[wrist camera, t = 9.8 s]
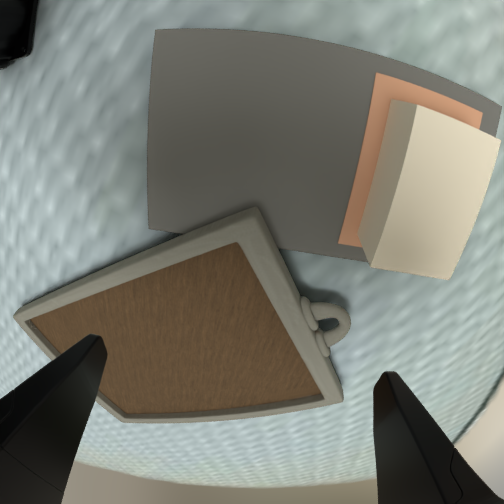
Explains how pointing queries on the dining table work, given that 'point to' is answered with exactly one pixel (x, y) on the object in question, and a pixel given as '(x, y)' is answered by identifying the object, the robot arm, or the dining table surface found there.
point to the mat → (279, 131)
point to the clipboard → (198, 329)
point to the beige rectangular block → (425, 191)
